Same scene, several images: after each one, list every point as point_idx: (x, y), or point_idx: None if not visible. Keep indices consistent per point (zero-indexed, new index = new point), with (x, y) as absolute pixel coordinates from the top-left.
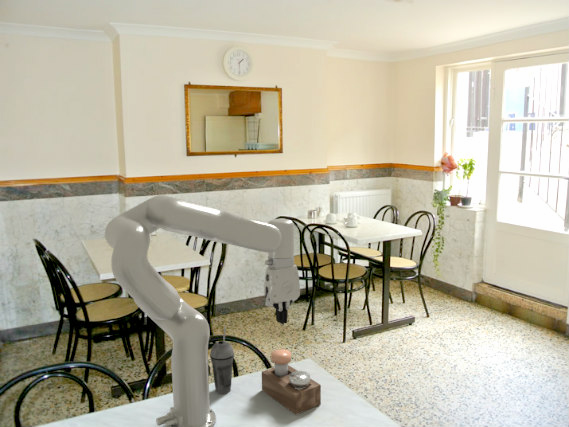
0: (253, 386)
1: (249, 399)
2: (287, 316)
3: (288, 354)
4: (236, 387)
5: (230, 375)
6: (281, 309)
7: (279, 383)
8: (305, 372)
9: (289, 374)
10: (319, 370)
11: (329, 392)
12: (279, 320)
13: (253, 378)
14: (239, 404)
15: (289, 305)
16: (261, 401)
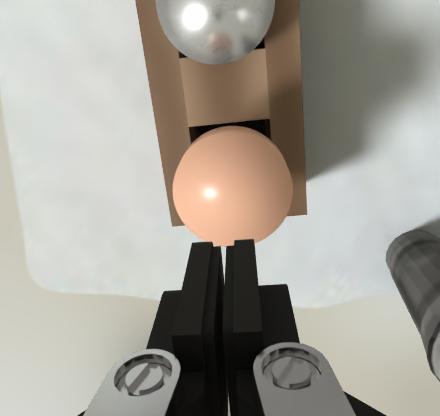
0: (306, 225)
1: (370, 151)
2: (160, 303)
3: (200, 159)
4: (362, 250)
5: (426, 262)
6: (276, 368)
7: (299, 67)
8: (165, 21)
9: (210, 122)
10: (23, 202)
11: (65, 26)
12: (279, 285)
13: (276, 274)
14: (421, 138)
15: (92, 403)
16: (341, 113)
